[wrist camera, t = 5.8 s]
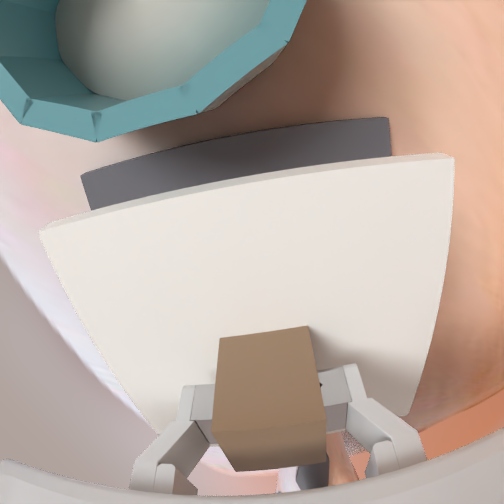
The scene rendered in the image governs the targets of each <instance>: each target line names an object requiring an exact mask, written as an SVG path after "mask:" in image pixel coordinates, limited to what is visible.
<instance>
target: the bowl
mask: <svg viewBox="0 0 504 504" xmlns="http://www.w3.org/2000/svg"><path fill="white" fill-rule="evenodd" d="M306 1H307V0H0V100H1V101H2V102H3V103H4V105H5V106H6V107H7V108H8V110H9V111H10V112H11V113H12V115H13V116H14V117H15V118H16V120H17V121H18V122H19V123H20V124H21V125H26V126H30V127H35V128H39V129H43V130H48V131H52V132H56V133H60V134H64V135H69V136H73V137H77V138H81V139H84V140H88V141H92V142H100V141H103V140H106V139H109V138H112V137H115V136H118V135H121V134H125V133H128V132H131V131H135V130H138V129H141V128H145V127H148V126H152V125H156V124H159V123H163V122H167V121H171V120H175V119H179V118H183V117H187V116H191V115H196V114H199V113H202V112H205V111H208V110H212V109H215V108H217V107H218V106H220V105H221V104H222V103H223V102H224V101H226V100H227V99H228V98H229V97H230V96H232V95H233V94H234V93H235V92H237V91H238V90H239V89H240V88H242V87H243V86H244V85H245V84H247V83H248V82H249V81H250V80H252V79H253V78H254V77H256V76H257V75H258V74H259V73H261V72H262V71H263V70H265V69H266V68H267V67H269V66H270V65H271V64H273V62H274V61H275V60H276V58H277V57H278V56H279V54H280V53H281V52H282V50H283V49H284V48H285V46H286V45H287V44H288V43H289V41H290V38H291V36H292V34H293V31H294V29H295V27H296V24H297V22H298V20H299V17H300V15H301V13H302V10H303V8H304V6H305V3H306Z"/></svg>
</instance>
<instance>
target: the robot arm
mask: <svg viewBox="0 0 504 504" xmlns="http://www.w3.org/2000/svg"><path fill="white" fill-rule="evenodd" d="M317 373H318V378H319V383H320V388H321V393H322V398H323V404H324V409H325V414H326V432H329V431H335V430H341V429H346V431H347V432H348V433H349V434H351V435H352V436H353V437H354V438H355V439H356V440H357V441H358V442H359V443H360V444H361V445H362V446H363V447H364V448H365V449H366V450H367V451H368V452H369V453H370V454H371V455H370V458H369V461H368V465H367V467H366V470H365V475H366V479H362V480H357V481H353V482H348V483H343V484H338V485H333V486H327V487H321V488H315V489H308V490H301V491H293V492H284V493H273V494H261V495H239V496H198V495H197V492H198V489H197V488H196V487H195V486H193V484H192V483H191V482H189V480H187V477H188V476H189V475H190V473H191V472H192V470H193V469H194V467H195V466H196V465H197V463H198V462H199V461H200V459H201V458H202V456H203V455H204V453H205V452H206V451H207V449H208V448H209V446H210V445H209V444H218V443H217V441H216V439H215V438H214V436H213V434H212V433H211V426H212V414H213V403H214V392H215V384H203V385H184V386H183V388H182V391H181V396H180V402H179V407H178V413H177V419H176V421H172V422H171V423H170V424H169V425H168V427H167V428H166V429H165V430H164V431H163V432H162V433H161V434H160V435H159V436H158V437H157V438H156V439H155V440H154V441H153V442H152V443H151V444H150V446H149V447H148V448H147V449H146V450H145V451H144V452H143V453H142V454H141V455H140V456H139V457H138V458H137V459H136V460H135V462H134V467H133V471H132V476H131V481H130V486H129V489H122V488H116V487H111V486H105V485H100V484H95V483H90V482H86V481H81V480H77V479H73V478H69V477H65V476H61V475H58V474H54V473H51V472H47V471H44V470H41V469H37V468H34V467H31V466H28V465H25V464H22V463H20V462H17V461H14V460H11V459H4V460H2V461H0V504H504V427H503V428H501V429H499V430H497V431H495V432H493V433H491V434H489V435H487V436H485V437H483V438H481V439H478V440H476V441H475V442H472V443H470V444H468V445H465V446H463V447H461V448H458V449H456V450H453V451H451V452H448V453H446V454H443V455H441V456H438V457H435V458H433V459H430V460H427V458H426V455H425V452H424V449H423V446H422V443H421V440H420V437H419V434H418V432H417V430H416V429H414V428H413V427H411V426H410V425H409V424H407V423H406V422H404V421H403V420H402V419H400V418H399V417H398V416H396V415H395V414H393V413H392V412H391V411H389V410H388V409H387V408H385V407H384V406H383V405H381V404H380V403H378V402H377V401H376V400H374V399H373V398H372V397H371V398H367V394H366V391H365V388H364V385H363V382H362V378H361V375H360V372H359V369H358V366H357V364H356V363H354V364H349V365H344V366H338V367H333V368H328V369H323V370H317Z"/></svg>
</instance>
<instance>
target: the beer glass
mask: <svg viewBox="0 0 504 504" xmlns="http://www.w3.org/2000/svg"><path fill="white" fill-rule="evenodd" d="M357 480H359V478H358V475H357V473H356V471H355V468H354V466H353V464H352V462H351V460H350V457H349V455H348V453H347V450H346V447H345V444H344V440H343V434H342V431H341V432H336V433H331V434H326V462H322V463H316V464H309V465H303V466H295V467H287V468H279V472H278V479H277V486H276V493H284V492H293V491H301V490H308V489H315V488H321V487H327V486H333V485H338V484H343V483H348V482H353V481H357Z"/></svg>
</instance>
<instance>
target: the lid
mask: <svg viewBox="0 0 504 504" xmlns="http://www.w3.org/2000/svg"><path fill="white" fill-rule="evenodd" d="M454 163H455V158H453V157H451V156H449V155H446V154H444V153H427V154H414V155H402V156H391V157H381V158H371V159H362V160H353V161H345V162H336V163H329V164H321V165H314V166H307V167H300V168H293V169H287V170H280V171H274V172H268V173H262V174H256V175H250V176H245V177H239V178H234V179H228V180H223V181H218V182H213V183H207V184H203V185H198V186H193V187H188V188H183V189H179V190H174V191H169V192H165V193H160V194H156V195H152V196H147V197H143V198H139V199H135V200H131V201H127V202H123V203H119V204H115V205H111V206H107V207H103V208H99V209H96V210H92V211H88V212H85V213H81V214H77V215H74V216H70V217H67V218H63V219H60V220H56V221H53V222H50V223H48V224H47V225H45V226H44V227H43V228H42V229H41V230H40V231H38V234H39V237H40V239H41V241H42V244H43V246H44V248H45V251H46V253H47V255H48V257H49V260H50V262H51V264H52V266H53V268H54V270H55V273H56V275H57V277H58V279H59V281H60V283H61V285H62V287H63V289H64V291H65V293H66V295H67V297H68V299H69V301H70V302H71V304H72V306H73V308H74V310H75V312H76V314H77V315H78V317H79V319H80V321H81V323H82V324H83V326H84V328H85V330H86V331H87V333H88V335H89V336H90V338H91V340H92V342H93V343H94V345H95V346H96V348H97V350H98V351H99V353H100V355H101V356H102V358H103V359H104V361H105V362H106V364H107V366H108V367H109V369H110V370H111V372H112V373H113V375H114V376H115V378H116V379H117V381H118V382H119V383H120V385H121V386H122V388H123V389H124V391H125V392H126V393H127V395H128V396H129V398H130V399H131V400H132V402H133V403H134V404H135V406H136V407H137V409H138V410H139V411H140V413H141V414H142V415H143V416H144V418H145V419H146V420H147V422H148V423H149V424H150V425H151V427H152V428H153V429H154V430H155V432H156V433H157V434H158V435H160V434H161V433H162V432H163V431H164V430H165V429H166V428H167V427H168V425H169V424H170V423H171V422H172V421H176V419H177V413H178V407H179V402H180V396H181V391H182V388H183V386H184V385H203V384H215V392H214V403H213V414H212V426H211V433H212V434H213V436H214V438H215V439H216V441H217V443H218V444H209V445H210V446H220V448H221V449H222V451H223V452H224V454H225V456H226V457H227V459H228V460H229V462H230V464H231V465H232V467H233V468H234V470H235V471H236V472H239V471H256V470H268V469H278V468H287V467H295V466H303V465H309V464H316V463H322V462H326V434H331V433H336V432H341V431H346V429H341V430H335V431H329V432H326V414H325V409H324V404H323V398H322V393H321V388H320V383H319V378H318V373H317V370H323V369H328V368H333V367H338V366H344V365H349V364H354V363H356V364H357V366H358V369H359V372H360V375H361V378H362V382H363V385H364V388H365V391H366V394H367V398H371V397H372V398H373V399H374V400H376V401H377V402H378V403H380V404H381V405H383V406H384V407H385V408H387V409H388V410H389V411H391V412H392V413H393V414H395V415H396V416H398V417H403V416H406V415H408V414H409V411H410V408H411V406H412V403H413V400H414V397H415V394H416V391H417V388H418V385H419V382H420V379H421V375H422V372H423V369H424V365H425V362H426V358H427V355H428V351H429V347H430V343H431V339H432V335H433V331H434V327H435V323H436V318H437V314H438V309H439V304H440V299H441V294H442V288H443V283H444V277H445V270H446V264H447V257H448V249H449V241H450V232H451V222H452V210H453V194H454Z"/></svg>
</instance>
